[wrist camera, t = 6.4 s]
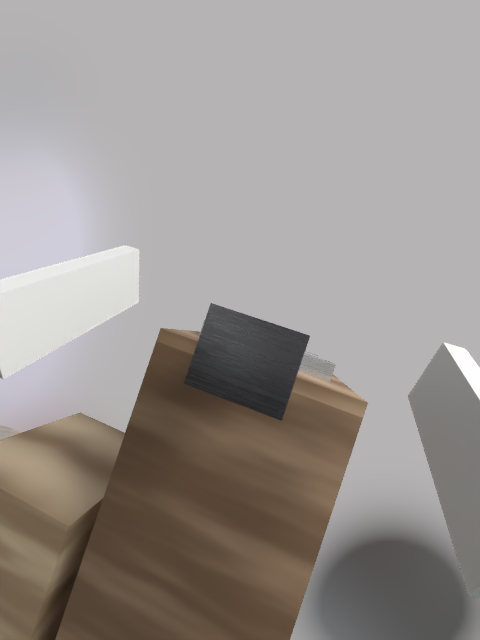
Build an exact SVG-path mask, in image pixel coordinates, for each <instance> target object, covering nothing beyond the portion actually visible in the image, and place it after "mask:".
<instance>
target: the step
mask: <svg viewBox="0 0 480 640" xmlns="http://www.w3.org/2000/svg"><path fill="white" fill-rule="evenodd" d="M124 435H125V433H124V432H121V431H119V430H117V429H115V428H113V427H110V426H108V425H106V424H104V423H102V422H99V421H97V420H95V419H93V418H91V417H88V416H86V415H84V414H82V413H78V414H75V415H72V416H69V417H67V418H63V419H60V420H58V421H55V422H52V423H49V424H46V425H43V426H40V427H37V428H34V429H31V430H29V431H26V432H23V433H20V434H17V435H14V436H11V437H8V438H5V439H2V440H0V640H55V639H56V636H57V633H58V630H59V627H60V624H61V621H62V618H63V615H64V612H65V609H66V606H67V603H68V600H69V597H70V594H71V591H72V588H73V586H74V583H75V580H76V577H77V574H78V571H79V568H80V565H81V562H82V559H83V556H84V553H85V550H86V547H87V544H88V541H89V538H90V535H91V532H92V529H93V527H94V524H95V521H96V518H97V515H98V512H99V509H100V506H101V503H102V500H103V497H104V494H105V491H106V488H107V485H108V482H109V479H110V476H111V473H112V471H113V468H114V465H115V462H116V459H117V456H118V453H119V450H120V447H121V444H122V441H123V438H124Z"/></svg>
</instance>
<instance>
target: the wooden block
mask: <svg viewBox="0 0 480 640" xmlns="http://www.w3.org/2000/svg"><path fill="white" fill-rule="evenodd" d="M199 334H200V332H197V331H185V330H175V329H164V328H161V329H160V332H159V335H158V338H157V341H156V344H155V347H154V350H153V353H152V356H151V358H150V362H149V365H148V367H147V370H146V373H145V376H144V379H143V382H142V385H141V388H140V391H139V394H138V397H137V400H136V403H135V406H134V409H133V412H132V415H131V417H130V421H129V423H128V427H127V429H126V432H125V435H124V438H123V441H122V444H121V447H120V450H119V453H118V456H117V459H116V462H115V465H114V468H113V471H112V473H111V476H110V479H109V482H108V485H107V488H106V491H105V494H104V497H103V500H102V503H101V506H100V509H99V512H98V515H97V518H96V521H95V524H94V527H93V529H92V532H91V535H90V538H89V541H88V544H87V547H86V550H85V553H84V556H83V559H82V562H81V565H80V568H79V571H78V574H77V577H76V580H75V583H74V586H73V588H72V591H71V594H70V597H69V600H68V603H67V606H66V609H65V612H64V615H63V618H62V621H61V624H60V627H59V630H58V633H57V636H56V639H55V640H290V637H291V634H292V631H293V628H294V625H295V622H296V619H297V616H298V613H299V610H300V607H301V604H302V601H303V598H304V595H305V592H306V589H307V586H308V583H309V580H310V577H311V573H312V571H313V568H314V565H315V562H316V558H317V556H318V552H319V549H320V546H321V543H322V540H323V537H324V534H325V531H326V528H327V525H328V522H329V519H330V516H331V513H332V510H333V507H334V504H335V501H336V498H337V495H338V492H339V489H340V486H341V483H342V480H343V477H344V473H345V471H346V467H347V465H348V462H349V459H350V456H351V453H352V449H353V446H354V443H355V440H356V437H357V434H358V431H359V428H360V425H361V422H362V419H363V416H364V413H365V410H366V407H367V404H368V403H367V402H366V401H365V400H364V399H362V398H361V397H360V396H359V395H357V394H356V393H355V392H354V391H353V390H351V389H350V388H349V387H348V386H347V385H345V384H344V383H343V382H342V381H340V380H339V379H338V378H337V377H335V376H334V375H333V374H332V377H331V380H330V383H328V382H326V381H323V380H320V379H317V378H314V377H311V376H309V375H306V374H303V373H300V372H298V373H297V376H296V379H295V382H294V386H293V389H292V392H291V395H290V398H289V401H288V404H287V407H286V410H285V413H284V416H283V419H282V421H280V420H277V419H275V418H272V417H270V416H267V415H264V414H262V413H259V412H256V411H254V410H251V409H249V408H246V407H243V406H241V405H238V404H236V403H233V402H230V401H228V400H225V399H222V398H220V397H217V396H215V395H212V394H209V393H207V392H204V391H201V390H199V389H196V388H194V387H191V386H188V385H186V384H184V381H185V378H186V375H187V372H188V369H189V366H190V363H191V360H192V357H193V354H194V352H195V349H196V346H197V343H198V340H199Z"/></svg>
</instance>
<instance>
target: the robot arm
mask: <svg viewBox="0 0 480 640" xmlns="http://www.w3.org/2000/svg"><path fill="white" fill-rule="evenodd" d="M138 302H139V249H136V248H132V247H129V246H126V245H124V246H121V247H117V248H113V249H110V250H106V251H102V252H99V253H95V254H91V255H88V256H84V257H80V258H77V259H73V260H69V261H66V262H62V263H58V264H55V265H51V266H47V267H44V268H40V269H36V270H33V271H29V272H25V273H22V274H18V275H15V276H11V277H7V278H3V279H0V378H1V379H5V378H6V377H8V376H10V375H12V374H13V373H15V372H17V371H19V370H20V369H22V368H24V367H26V366H28V365H29V364H31V363H33V362H34V361H36V360H38V359H40V358H42V357H43V356H45V355H47V354H49V353H50V352H52V351H54V350H56V349H57V348H59V347H61V346H63V345H64V344H66V343H68V342H70V341H71V340H73V339H75V338H77V337H78V336H80V335H82V334H84V333H86V332H87V331H89V330H91V329H93V328H94V327H96V326H98V325H100V324H101V323H103V322H105V321H107V320H108V319H110V318H112V317H114V316H115V315H117V314H119V313H121V312H122V311H124V310H126V309H128V308H129V307H131V306H133V305H135V304H137V303H138ZM408 398H409V401H410V404H411V408H412V411H413V414H414V417H415V421H416V424H417V428H418V431H419V434H420V438H421V441H422V444H423V447H424V451H425V454H426V457H427V461H428V464H429V467H430V471H431V474H432V477H433V480H434V484H435V487H436V490H437V494H438V497H439V500H440V504H441V507H442V510H443V513H444V517H445V520H446V523H447V526H448V530H449V533H450V536H451V540H452V543H453V547H454V550H455V553H456V556H457V560H458V563H459V566H460V570H461V573H462V576H463V580H464V583H465V586H466V589H467V593H468V595H471V596H473V597H475V598H477V599H479V600H480V368H479V366H478V365H477V364H476V362H475V361H474V359H473V358H472V357H471V355H470V354H469V353H468V351H467V350H466V349H464V348H461V347H458V346H454V345H451V344H448V343H444V342H443V343H442V345H441V346H440V348H439V349H438V351H437V353H436V354H435V355H434V357H433V359H432V360H431V362H430V363H429V365H428V366H427V368H426V369H425V371H424V372H423V374H422V375H421V377H420V379H419V380H418V382H417V383H416V385H415V386H414V388H413V389H412V391H411V392H410V394H409V395H408Z"/></svg>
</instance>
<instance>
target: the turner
mask: <svg viewBox="0 0 480 640" xmlns="http://www.w3.org/2000/svg"><path fill="white" fill-rule="evenodd" d="M309 337H310V336H309V335H306V334H303V333H300V332H297V331H294V330H290V329H288V328H285V327H282V326H278V325H276V324H273V323H269V322H266V321H263V320H260V319H257V318H254V317H251V316H248V315H245V314H242V313H239V312H236V311H233V310H230V309H227V308H224V307H221V306H218V305H215V304H212V303H211V304H210V307H209V311H208V313H207V316H206V319H205V320H204V322H203V326H202V328H201V331H200V334H199V340H198V343H197V346H196V349H195V352H194V354H193V357H192V360H191V363H190V366H189V369H188V372H187V375H186V378H185V381H184V384H186V385H188V386H191V387H194V388H196V389H199V390H201V391H204V392H207V393H209V394H212V395H215V396H217V397H220V398H222V399H225V400H228V401H230V402H233V403H236V404H238V405H241V406H243V407H246V408H249V409H251V410H254V411H256V412H259V413H262V414H264V415H267V416H270V417H272V418H275V419H277V420H280V421H282V419H283V416H284V413H285V410H286V407H287V404H288V401H289V398H290V395H291V392H292V389H293V386H294V382H295V379H296V376H297V373H298V372H300V373H303V374H306V375H309V376H311V377H314V378H317V379H320V380H323V381H326V382H328V383H330V380H331V377H332V374H333V371H334V368H335V364H333V363H331V362H329V361H327V360H325V359H323V358H321V357H319V356H317V355H314V354H311V353H308V352H306V351H305V349H306V346H307V343H308V340H309Z"/></svg>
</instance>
